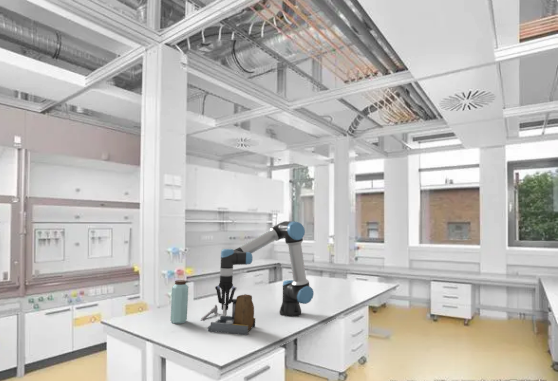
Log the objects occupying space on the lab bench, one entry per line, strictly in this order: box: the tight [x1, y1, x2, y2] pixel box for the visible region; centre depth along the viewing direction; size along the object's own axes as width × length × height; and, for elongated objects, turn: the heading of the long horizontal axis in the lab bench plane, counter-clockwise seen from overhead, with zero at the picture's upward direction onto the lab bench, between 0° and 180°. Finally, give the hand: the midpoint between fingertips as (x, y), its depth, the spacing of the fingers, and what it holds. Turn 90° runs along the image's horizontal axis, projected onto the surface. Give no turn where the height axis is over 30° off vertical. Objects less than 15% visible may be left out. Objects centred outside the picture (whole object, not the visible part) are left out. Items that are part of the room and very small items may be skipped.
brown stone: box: [234, 293, 255, 332], centre depth 214 cm, size 11×8×20 cm
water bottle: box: [170, 279, 189, 325], centre depth 227 cm, size 10×10×25 cm
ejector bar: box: [226, 298, 237, 324], centre depth 215 cm, size 4×18×17 cm, turn 168°
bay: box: [207, 314, 256, 336], centre depth 215 cm, size 23×16×5 cm
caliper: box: [200, 304, 218, 321], centre depth 240 cm, size 20×1×6 cm, turn 161°
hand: (224, 315), depth 217 cm, fingers closed
